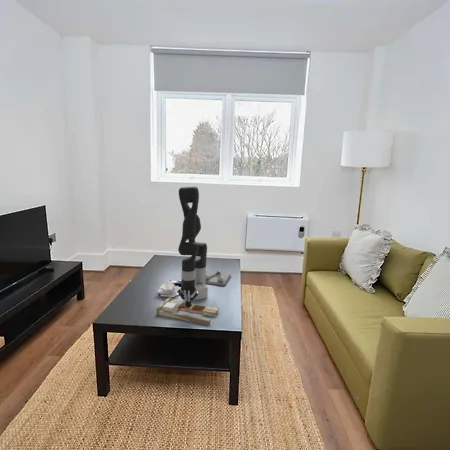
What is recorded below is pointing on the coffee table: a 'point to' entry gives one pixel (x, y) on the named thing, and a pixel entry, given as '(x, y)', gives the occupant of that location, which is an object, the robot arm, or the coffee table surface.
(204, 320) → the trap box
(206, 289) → the supplement box
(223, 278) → the grey board with linkage
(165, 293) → the lotus flower
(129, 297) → the coffee table surface
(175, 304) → the cream block
